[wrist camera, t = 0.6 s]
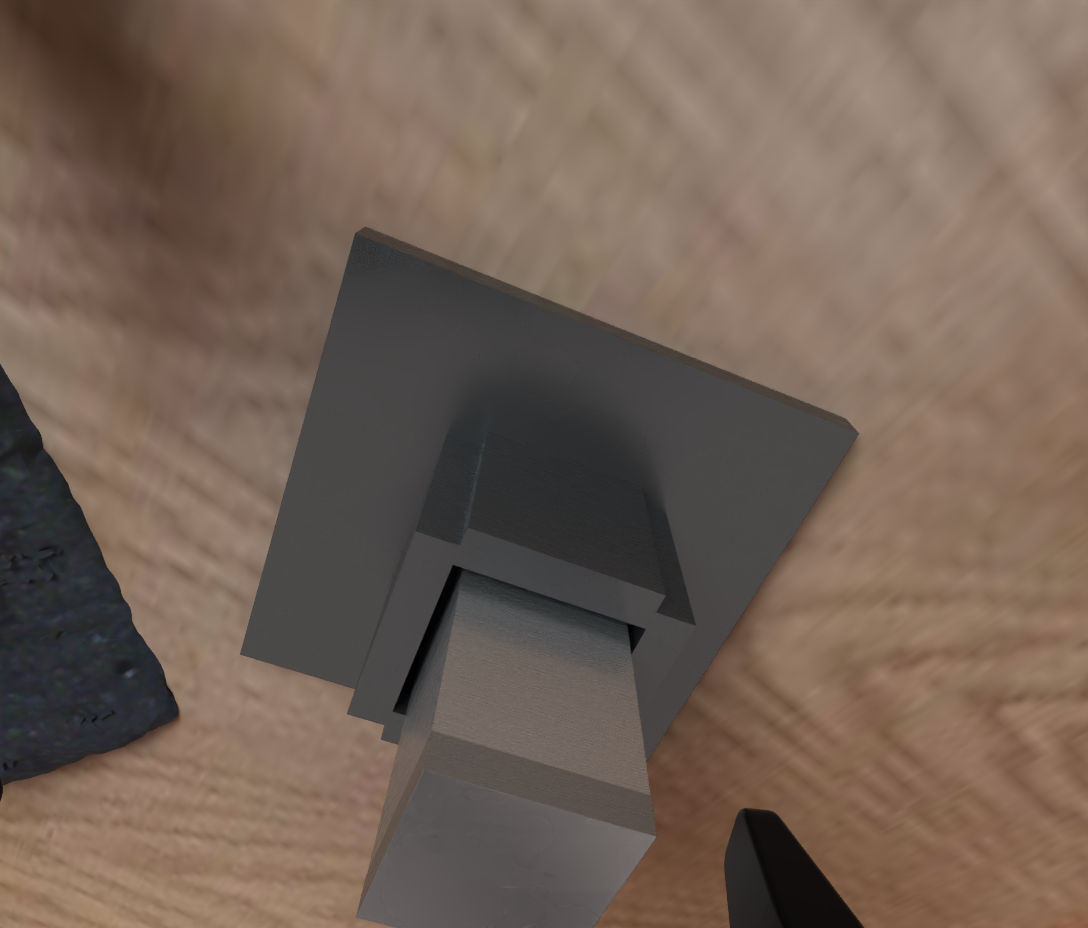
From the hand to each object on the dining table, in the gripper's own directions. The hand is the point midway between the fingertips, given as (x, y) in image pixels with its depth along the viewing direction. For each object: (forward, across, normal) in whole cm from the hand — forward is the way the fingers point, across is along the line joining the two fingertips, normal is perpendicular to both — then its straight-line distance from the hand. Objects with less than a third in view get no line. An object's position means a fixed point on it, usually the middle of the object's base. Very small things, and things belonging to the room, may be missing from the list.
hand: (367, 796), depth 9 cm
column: (+12, -2, +4) cm, 13 cm away
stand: (+13, -2, +4) cm, 14 cm away
